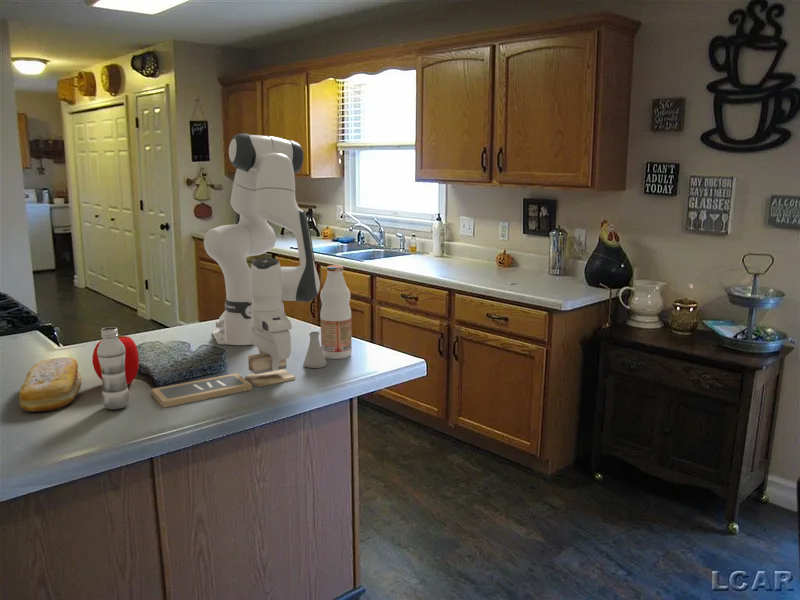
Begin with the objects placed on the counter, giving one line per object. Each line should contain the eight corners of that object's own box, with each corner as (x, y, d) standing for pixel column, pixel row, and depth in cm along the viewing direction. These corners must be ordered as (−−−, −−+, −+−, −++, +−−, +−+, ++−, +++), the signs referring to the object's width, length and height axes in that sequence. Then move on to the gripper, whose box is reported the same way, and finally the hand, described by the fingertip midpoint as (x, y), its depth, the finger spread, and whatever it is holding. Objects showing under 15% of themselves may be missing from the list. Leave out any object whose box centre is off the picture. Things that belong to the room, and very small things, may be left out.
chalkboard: (151, 394, 171) (151, 388, 171) (237, 378, 184) (236, 372, 183) (163, 407, 162) (163, 401, 162) (252, 389, 175) (251, 384, 174)
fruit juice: (320, 360, 200) (318, 269, 194) (321, 351, 209) (319, 264, 203) (352, 359, 201) (350, 268, 195) (351, 350, 210) (350, 263, 204)
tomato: (136, 391, 173) (132, 339, 170) (90, 394, 171) (84, 342, 168) (144, 376, 185) (140, 327, 182) (101, 378, 183) (96, 329, 180)
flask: (323, 369, 191) (322, 336, 189) (299, 368, 193) (298, 335, 190) (330, 362, 198) (329, 330, 196) (307, 360, 199) (306, 328, 197)
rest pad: (245, 377, 184) (245, 375, 184) (281, 370, 190) (281, 368, 190) (257, 387, 177) (257, 384, 176) (295, 379, 183) (295, 376, 183)
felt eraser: (248, 369, 182) (248, 355, 181) (279, 363, 187) (278, 350, 186) (255, 374, 178) (255, 360, 177) (286, 368, 183) (285, 354, 182)
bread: (84, 377, 185) (81, 349, 183) (80, 410, 161) (76, 379, 159) (30, 383, 180) (26, 355, 178) (17, 418, 156) (13, 386, 154)
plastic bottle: (102, 414, 158) (94, 333, 153) (102, 404, 164) (94, 327, 160) (131, 410, 160) (124, 331, 156) (130, 401, 166) (123, 324, 162)
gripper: (242, 312, 186) (244, 359, 189) (272, 328, 170) (274, 379, 173) (263, 309, 190) (265, 355, 193) (294, 324, 173) (296, 374, 176)
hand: (269, 366), depth 183 cm, fingers closed on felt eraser, 5 cm apart
